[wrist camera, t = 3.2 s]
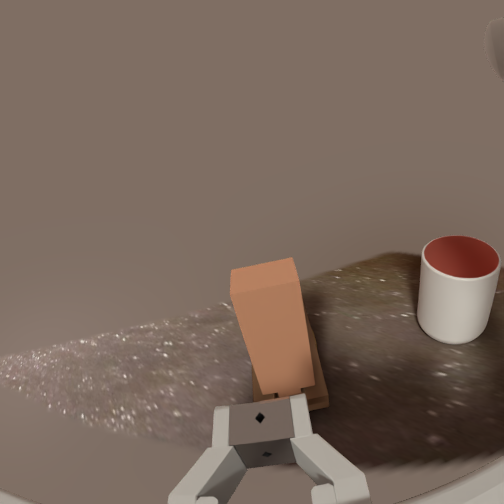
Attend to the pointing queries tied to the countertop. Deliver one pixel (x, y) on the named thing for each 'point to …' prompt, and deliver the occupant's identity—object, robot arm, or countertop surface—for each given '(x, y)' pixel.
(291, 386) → the plate
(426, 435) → the countertop surface
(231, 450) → the robot arm
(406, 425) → the countertop surface
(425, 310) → the cup
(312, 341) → the beam
